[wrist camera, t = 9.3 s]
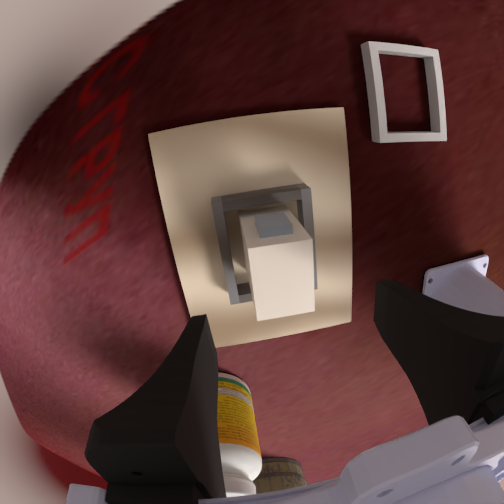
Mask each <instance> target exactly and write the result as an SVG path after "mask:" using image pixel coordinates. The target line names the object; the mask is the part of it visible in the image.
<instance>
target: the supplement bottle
mask: <svg viewBox="0 0 504 504" xmlns="http://www.w3.org/2000/svg"><path fill="white" fill-rule="evenodd" d="M217 426H218V436H219V446H220V455H221V463H222V470H223V477H224V484H225V491H226V497H236V496H245V495H253V494H256V486H255V484H254V483H253V480H254V479H255V478H256V477H257V476H258V475H259V473H260V471H261V469H262V458H261V451H260V446H259V440H258V435H257V429H256V423H255V416H254V410H253V404H252V398H251V393H250V390H249V388H248V386H247V385H246V384H245V383H244V382H243V381H242V380H241V379H239V378H238V377H235V376H233V375H230V374H226V373H219V374H218V407H217Z"/></svg>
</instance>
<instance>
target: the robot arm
mask: <svg viewBox="0 0 504 504" xmlns="http://www.w3.org/2000/svg"><path fill="white" fill-rule="evenodd" d="M488 261H489V257H488V256H487V255H486V254H484V255H480V256H477V257H473V258H469V259H466V260H462V261H458V262H454V263H451V264H447V265H443V266H439V267H435V268H431V269H428V270H427V271H426V273H425V276H424V284H423V291H422V293H420V292H418V291H416V290H413V289H411V288H409V287H407V286H405V285H403V284H400V283H398V282H396V281H393V280H390V279H386V280H382V281H377V282H376V296H375V310H374V322H375V324H376V326H377V329H378V331H379V333H380V335H381V337H382V339H383V340H384V342H385V343H386V345H387V346H388V348H389V349H390V351H391V352H392V354H393V355H394V357H395V358H396V359H397V361H398V362H399V364H400V365H401V367H402V368H403V370H404V371H405V373H406V375H407V376H408V378H409V380H410V382H411V384H412V386H413V388H414V390H415V392H416V394H417V396H418V399H419V401H420V403H421V406H422V408H423V410H424V413H425V416H426V418H427V421H428V424H429V426H427V427H425V428H422V429H420V430H417V431H415V432H413V433H410V434H407V435H405V436H402V437H400V438H397V439H394V440H392V441H389V442H386V443H383V444H380V445H377V446H375V447H373V448H371V449H369V450H366V451H364V452H362V453H360V454H359V455H357V456H356V457H354V458H353V459H352V460H350V461H349V462H348V463H347V465H346V466H345V468H344V469H343V470H342V472H341V475H340V477H337V478H333V479H329V480H325V481H321V482H317V483H313V484H309V485H304V486H300V487H295V488H290V489H284V490H279V491H273V492H267V493H260V494H253V495H245V496H236V497H226V491H225V484H224V477H223V470H222V463H221V455H220V446H219V436H218V426H217V407H218V374H219V372H218V361H217V352H216V348H215V344H214V341H213V337H212V333H211V329H210V326H209V322H208V318H207V314H203V315H197V316H192V317H191V318H190V319H189V321H188V323H187V325H186V327H185V329H184V331H183V332H182V334H181V336H180V338H179V339H178V341H177V342H176V344H175V346H174V347H173V349H172V350H171V352H170V353H169V355H168V356H167V358H166V359H165V360H164V362H163V363H162V364H161V366H160V367H159V368H158V370H157V371H156V372H155V373H154V374H153V375H152V376H151V378H150V379H149V380H148V381H147V382H146V383H144V384H143V385H142V386H141V387H140V388H139V389H138V390H137V391H136V392H135V393H134V394H133V395H131V396H130V397H129V398H128V399H126V400H125V401H124V402H122V403H121V404H120V405H118V406H117V407H115V408H114V409H112V410H111V411H109V412H108V413H106V414H104V415H103V416H101V417H99V418H98V419H96V420H94V422H93V425H92V427H91V430H90V434H89V438H88V442H87V446H86V450H85V457H86V460H87V461H88V462H89V464H90V465H91V466H92V467H93V468H94V469H95V470H96V471H97V472H98V473H99V474H100V475H101V476H102V477H103V478H104V479H105V480H106V481H107V482H108V485H107V491H106V490H104V489H102V488H100V487H95V486H86V485H79V484H70V487H69V491H68V496H67V500H66V504H504V491H503V489H502V487H501V486H500V484H499V481H500V480H502V479H503V478H504V291H503V290H502V289H501V288H500V287H498V286H497V285H496V284H494V283H493V282H492V281H491V280H489V279H488V278H487V277H485V276H486V271H487V266H488ZM429 279H430V281H429Z"/></svg>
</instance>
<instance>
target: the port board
mask: <svg viewBox="0 0 504 504" xmlns="http://www.w3.org/2000/svg"><path fill="white" fill-rule="evenodd" d="M148 138H149V143H150V149H151V154H152V159H153V164H154V169H155V174H156V179H157V184H158V189H159V193H160V198H161V202H162V207H163V211H164V216H165V220H166V225H167V229H168V233H169V237H170V241H171V245H172V249H173V254H174V257H175V261H176V265H177V269H178V273H179V277H180V281H181V284H182V288H183V292H184V295H185V299H186V303H187V306H188V310H189V313H190V317H192V316H197V315H203V314H207V318H208V322H209V326H210V329H211V333H212V337H213V341H214V344H215V348H217V347H223V346H230V345H236V344H242V343H248V342H254V341H259V340H265V339H271V338H276V337H281V336H286V335H291V334H296V333H301V332H306V331H311V330H316V329H320V328H325V327H329V326H334V325H338V324H342V323H347V322H351V307H352V217H351V192H350V174H349V159H348V147H347V135H346V125H345V115H344V107H337V108H319V109H305V110H294V111H283V112H274V113H265V114H257V115H249V116H242V117H235V118H228V119H222V120H216V121H210V122H204V123H198V124H193V125H188V126H183V127H178V128H173V129H168V130H163V131H159V132H154V133H150V134H148ZM283 205H286V206H287V207H288V209H289V210H290V211H291V212H292V214H293V215H294V216H295V217H296V219H297V220H298V221H299V222H300V224H301V225H302V226H303V227H304V229H305V230H306V231H307V233H308V234H309V235H310V236H311V238H312V239H313V261H314V294H315V311H313V312H308V313H303V314H297V315H291V316H286V317H280V318H274V319H268V320H262V321H257V318H256V313H255V308H254V304H253V299H252V294H251V289H250V285H249V280H248V275H247V270H246V264H245V257H244V249H243V242H242V235H241V228H240V220H239V213H238V212H240V211H247V210H254V209H261V208H268V207H276V206H283Z"/></svg>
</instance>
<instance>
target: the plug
mask: <svg viewBox="0 0 504 504" xmlns="http://www.w3.org/2000/svg"><path fill="white" fill-rule="evenodd" d="M238 213H239V220H240V228H241V235H242V242H243V249H244V257H245V264H246V270H247V275H248V280H249V285H250V289H251V294H252V299H253V304H254V308H255V313H256V318H257V321H262V320H268V319H274V318H280V317H286V316H291V315H297V314H303V313H308V312H313V311H315V294H314V261H313V239H312V238H311V236H310V235H309V234H308V233H307V231H306V230H305V229H304V227H303V226H302V225H301V224H300V222H299V221H298V220H297V219H296V217H295V216H294V215H293V214H292V212H291V211H290V210H289V209H288V207H287V206H286V205H283V206H276V207H268V208H261V209H254V210H247V211H240V212H238Z"/></svg>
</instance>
